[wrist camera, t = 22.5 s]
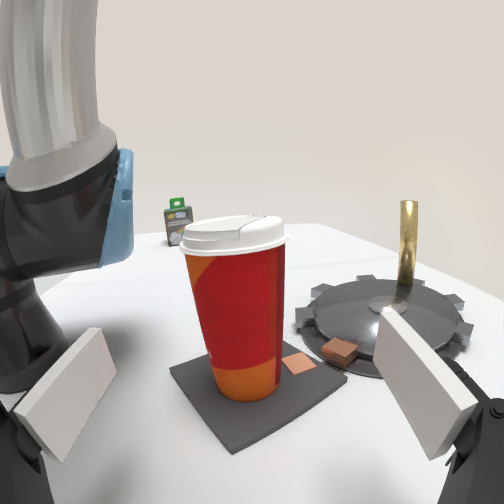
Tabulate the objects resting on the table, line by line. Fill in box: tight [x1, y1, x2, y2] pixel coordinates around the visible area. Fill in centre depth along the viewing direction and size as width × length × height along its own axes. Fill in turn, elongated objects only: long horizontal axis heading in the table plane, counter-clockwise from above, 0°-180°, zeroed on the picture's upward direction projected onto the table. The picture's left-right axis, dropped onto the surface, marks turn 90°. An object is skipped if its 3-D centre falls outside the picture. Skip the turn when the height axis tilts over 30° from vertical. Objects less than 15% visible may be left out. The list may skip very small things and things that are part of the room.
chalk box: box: [164, 197, 193, 247], centre depth 87 cm, size 9×9×15 cm
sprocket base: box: [300, 300, 464, 379], centre depth 30 cm, size 22×22×1 cm
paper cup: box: [179, 215, 289, 402], centre depth 20 cm, size 8×8×14 cm
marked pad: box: [169, 341, 347, 454], centre depth 23 cm, size 12×12×1 cm
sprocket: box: [295, 201, 474, 367], centre depth 28 cm, size 23×23×13 cm
